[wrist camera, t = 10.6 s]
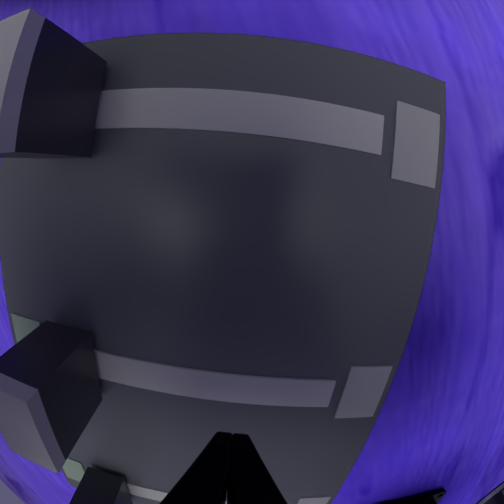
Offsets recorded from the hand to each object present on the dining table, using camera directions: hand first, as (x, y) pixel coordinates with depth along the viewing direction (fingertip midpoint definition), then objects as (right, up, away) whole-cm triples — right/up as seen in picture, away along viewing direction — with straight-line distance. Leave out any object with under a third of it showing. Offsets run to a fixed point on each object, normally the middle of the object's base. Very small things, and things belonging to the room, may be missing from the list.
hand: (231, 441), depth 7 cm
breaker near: (-5, +9, 0) cm, 11 cm away
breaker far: (-7, -7, +4) cm, 11 cm away
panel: (-2, +1, +4) cm, 5 cm away
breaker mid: (-6, +1, +2) cm, 6 cm away
